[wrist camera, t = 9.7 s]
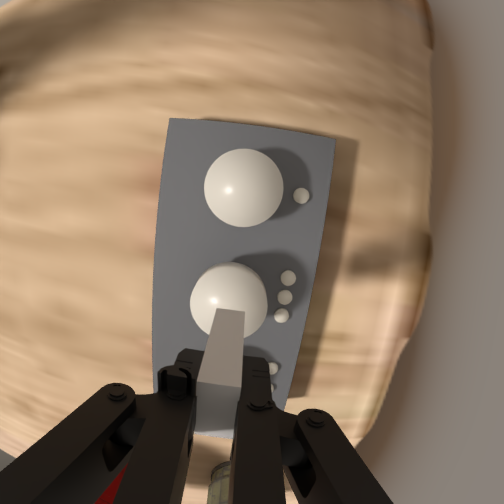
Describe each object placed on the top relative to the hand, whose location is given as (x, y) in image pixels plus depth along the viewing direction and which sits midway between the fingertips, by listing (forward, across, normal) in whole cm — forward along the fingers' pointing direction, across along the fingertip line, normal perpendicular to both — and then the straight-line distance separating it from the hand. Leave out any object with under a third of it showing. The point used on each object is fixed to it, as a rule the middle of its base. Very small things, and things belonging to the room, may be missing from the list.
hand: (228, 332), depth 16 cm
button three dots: (+7, 0, 0) cm, 7 cm away
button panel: (+9, 0, 0) cm, 9 cm away
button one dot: (+9, 0, +8) cm, 11 cm away
